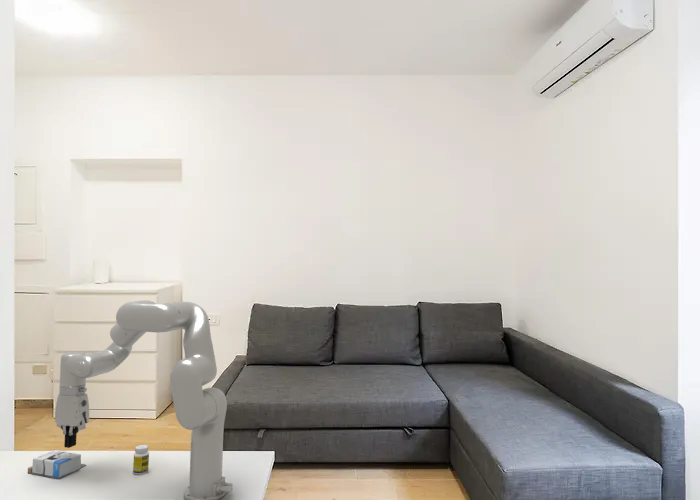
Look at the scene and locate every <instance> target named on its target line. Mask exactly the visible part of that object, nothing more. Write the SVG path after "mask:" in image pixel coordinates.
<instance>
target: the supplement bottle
mask: <svg viewBox="0 0 700 500" xmlns="http://www.w3.org/2000/svg"><path fill="white" fill-rule="evenodd" d="M134 451H135V452H134V454H133V464H132V465H133V466H132V469H133V470H132V474H134V475H135V476H138V475H139V476H141V475H144V474H147V473H148V472H149V465H150V463H149V462H150V461H149V460H150V452H149V445H148V444H140V445H136V446H135V448H134Z"/></svg>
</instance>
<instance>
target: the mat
mask: <svg viewBox="0 0 700 500" xmlns="http://www.w3.org/2000/svg"><path fill="white" fill-rule="evenodd" d="M86 466H87V464H85V463H81V468H80V469H82V468H85V467H86ZM32 467H33V465H31V466H29V467H27V474H28V475H33V476H34V475H35V476H40V477H45V478H46V477H47V478H53V479H58V480H60V479H61V478H64V477H66V476H68V475H71V474H72V473H74V472H75V471H73V472H71V473H69V474H67V475H64V476H62V477H60V478H59V477H54V476H48V475H43V474H38V473H33V472H32ZM80 469H78V470H77V471H79V470H80Z"/></svg>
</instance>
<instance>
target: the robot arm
mask: <svg viewBox="0 0 700 500" xmlns="http://www.w3.org/2000/svg"><path fill="white" fill-rule="evenodd" d="M115 320H116V323H115V324H114V325H113V326H112V327H111V328H110V331H109V334H110V335H109V336H110V338H111V340H112V343H111V344H109V345H108V346H107V348H105V349H103V350H100V351H96V352H91V353H87V354H86V353H85V352H83V351H68V352H64V353H63V354H61V356H60V366H59V369H60V370H59V388H58V390H59V391H58V392H59V394H58V395H57V398H56V403H55V404H56V405H55V409H54V410H55V411H54V420H55V421H54V423H55V424H56V428H57V427H58V428H59V429H61V430H62V434H63V435H64V444H63V446H64V448H68V449H70V448H72V447H75V446H76V445H77V434H78V433H79V431H83V430H86V424H87V423H89V422H90V404H89V402H90V401H89V397H88V393H86V392H87V390H88V389H87V387H86V381H87V379H89V378H93V377H96V376H100V375H104V374H107V373H110V372H112V371H114V370H115V369H116V368H118V367H119V366H120V365H121V364H122V363H123V362H124V361H125V360H126V359H127V358H128V357H129V356H130V354H131V351H132V350H133V345H134V344H135V343H137V342H138V340H140V339H141V338H142V337H143V336H144V335H145V334H146V333H168V332H172V331H179V330H181V329H182V330H184V334H183V338H182V340H183V341H182V346H183V351H184V358H182V359H180V360H178V361H177V362H175V364H174V365H173V367H172V368H171V372H170V377H169V380H170V389H171V396H172V401H173V407H174V412H175V417H176V419H177V421H178V424H179V425H180V426H181V427H183V428H184V429H185V430H189V431H191V435H190V455H189V457H190V460H189V463H190V464H189V485H188V486H187V487H186V488H184V491H183V497H184V499H185V500H220V499H221V498H223V497H224V496H225V495H226V494H232V492H233V485H234V484H233V483H231V482H227V481H226V476H223V453H224V431H225V430H224V427H225V420H226V415H227V414H226V413H227V410H228V408H227V407H228V401H227V398H226V395H225V393H224V391H222V390H221V389H219V388H217V387H211V386H210V387H207V388H206V387H205V388H203V386H205V385H207V384H209V383H210V382H212V381H213V380H214V379H215V378H216V376H217V372H218V369H217V362H216V356H215V352H214V351H215V350H214V345H213V340H212V334H211V326H210V325H211V324H210V321H209V316H208V314H207V312H206V311H205V310H204V308H203V307H202V306H200V305H199V304H197V303H194V302H191V301H190V302H189V301H175V302H170V303H169V302H168V303H156V302H154V301H151V300H136V301H128V302H126V303H123V304H122V305H121V306H120V307H119V308H118V309H117V311H116V315H115Z"/></svg>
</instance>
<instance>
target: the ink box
mask: <svg viewBox="0 0 700 500" xmlns="http://www.w3.org/2000/svg"><path fill="white" fill-rule="evenodd" d="M81 459H82V454H80V453H76V452H75V453H74V452H69V451H64V450H63V451H62V450H56V449H54V450H51V451H48V452H46V453H44V454H41V455H38V456H35V457H33V459H32V466H33V467H32V472H33V473H38V474H43V475H48V476H54V477H59V478H60V477H62V476H64V475H66V476H68V475H70V474H72V473H74V472H77V471H79V470H80V468H81V464H82V463H81V462H82V460H81ZM78 469H79V470H78ZM81 469H82V468H81ZM73 471H74V472H73ZM71 472H72V473H71ZM69 473H70V474H69ZM67 474H68V475H67ZM64 477H65V476H64ZM62 478H63V477H62ZM60 479H61V478H60Z"/></svg>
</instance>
